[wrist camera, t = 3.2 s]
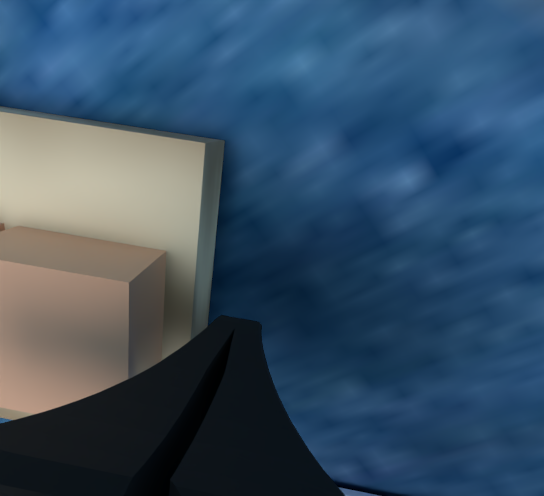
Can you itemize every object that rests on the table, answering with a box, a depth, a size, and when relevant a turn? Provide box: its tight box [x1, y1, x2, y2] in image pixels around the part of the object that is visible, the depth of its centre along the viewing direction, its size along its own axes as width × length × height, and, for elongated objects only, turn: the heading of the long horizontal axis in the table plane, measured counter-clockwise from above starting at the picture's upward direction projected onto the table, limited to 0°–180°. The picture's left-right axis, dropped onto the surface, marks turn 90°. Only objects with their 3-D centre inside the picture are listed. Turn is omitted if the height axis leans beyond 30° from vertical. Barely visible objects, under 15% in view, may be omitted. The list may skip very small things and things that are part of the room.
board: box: [0, 106, 225, 420], centre depth 14 cm, size 12×12×2 cm
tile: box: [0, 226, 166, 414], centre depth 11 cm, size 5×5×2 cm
